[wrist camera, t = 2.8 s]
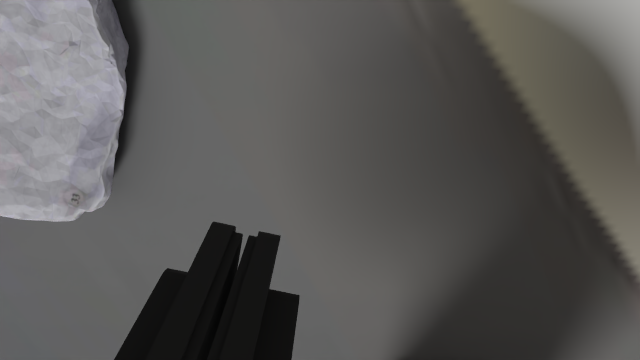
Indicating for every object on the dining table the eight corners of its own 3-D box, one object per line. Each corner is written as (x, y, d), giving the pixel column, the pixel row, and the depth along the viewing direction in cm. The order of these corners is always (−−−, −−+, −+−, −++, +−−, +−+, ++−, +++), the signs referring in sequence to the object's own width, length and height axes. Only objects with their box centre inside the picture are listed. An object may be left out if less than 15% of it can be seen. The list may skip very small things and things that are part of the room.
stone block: (140, -46, 19) (-128, -87, 17) (107, -38, 15) (-251, -90, 13) (152, 185, 25) (-46, 173, 23) (131, 237, 20) (-112, 228, 19)
